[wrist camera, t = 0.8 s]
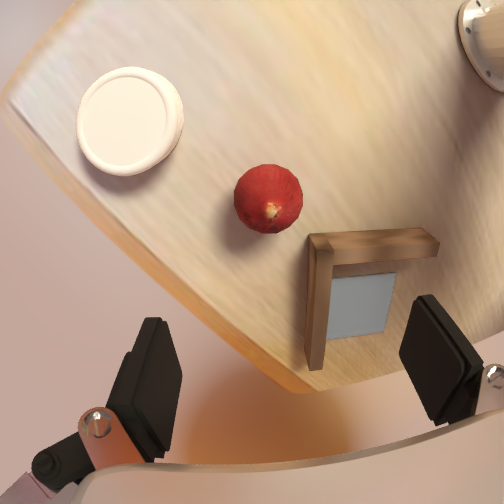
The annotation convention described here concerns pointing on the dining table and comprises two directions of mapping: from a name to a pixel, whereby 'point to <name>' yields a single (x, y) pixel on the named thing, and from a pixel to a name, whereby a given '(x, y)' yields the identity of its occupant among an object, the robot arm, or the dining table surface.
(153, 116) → the coaster
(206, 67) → the dining table surface
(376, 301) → the pad
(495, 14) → the robot arm
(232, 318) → the dining table surface
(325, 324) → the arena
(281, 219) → the onion
